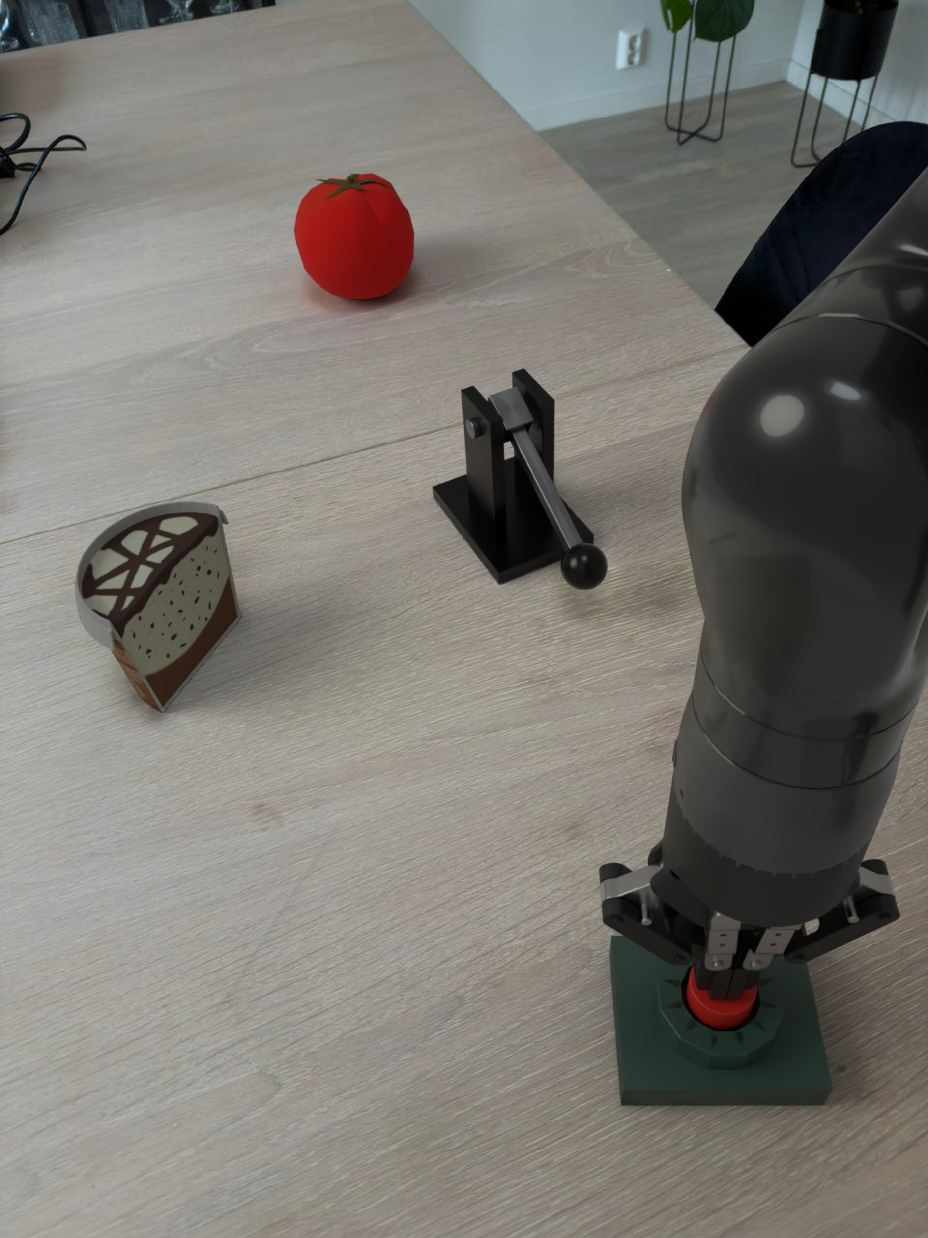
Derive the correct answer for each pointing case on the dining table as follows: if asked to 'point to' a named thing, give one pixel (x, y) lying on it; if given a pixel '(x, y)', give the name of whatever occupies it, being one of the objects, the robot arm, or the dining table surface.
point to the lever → (549, 494)
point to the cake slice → (159, 594)
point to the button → (719, 1006)
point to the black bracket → (505, 488)
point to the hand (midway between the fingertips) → (721, 981)
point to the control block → (714, 1038)
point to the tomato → (355, 236)
